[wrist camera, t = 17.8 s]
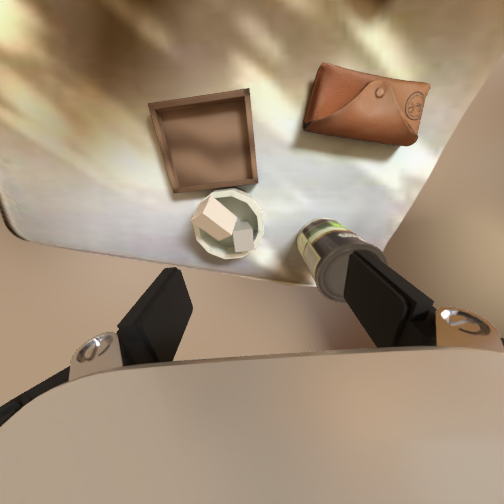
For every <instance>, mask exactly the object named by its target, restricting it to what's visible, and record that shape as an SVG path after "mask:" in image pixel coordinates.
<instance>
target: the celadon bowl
mask: <svg viewBox="0 0 504 504" xmlns="http://www.w3.org/2000/svg"><path fill="white" fill-rule="evenodd" d="M210 195H211V196H213V197H214V198H215V199H216V200H217V201H218V202H220V203H221V204H222V205H223V206H224V207H225V208H227V209H228V210H229V211H230V212H231V213H232V214H234V215H235V216H236V217H237V220H236V222H238V221H245V220H248V222H249V224H250V225H251V227H252V229H253V239H254V249H256V248H257V246H258V244H259V242H260V240H261V238H262V236H263V234H264V225H263V214H262V210H261V208H260V207H259V205H258V204H257V202H256V201H255V200H254V198H253V197H252V196H251V195H249V194H247V193H246V192H244V191H242V190H239V189H236V188H224V189H219V190H215V191H213V192H212V193H211V194H209V195H208V196H207V197H206V198H208V197H209V196H210ZM206 198H205V199H206ZM205 199H203V200H202V201H204V200H205ZM202 201H201V202H202ZM201 202H200V203H201ZM200 203H199V204H200ZM199 204H197V207H198V205H199ZM197 207H196V209H197ZM195 211H196V210H195ZM192 225H193V228H194V232H195V236H196V240H197V241H198V242H199V243H200V244H201V245H202V246H203V247H204V248H205V249H206V251H207V252H208V253H210V254H213V255H215V256H218V257H221V258H223V259H234V258H242V257H244V256H246V255H247V254H249V253H250V252H252V251H253V250H250V251H243V252H237V253H235V248H234V244H233V238H232V235H231V236H229V237H226V238H224V239H222V240H220V241H218V240H217V239H215V238H214V237H212V236H211V235H209V234H208V233H207V232H205V231H204V230H202V229H201V228H199V227H198V226H197V225H195V224H194V223H192Z"/></svg>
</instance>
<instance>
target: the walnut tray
mask: <svg viewBox="0 0 504 504" xmlns="http://www.w3.org/2000/svg"><path fill="white" fill-rule="evenodd" d="M148 106H149V110H150V113H151V117H152V120H153V124H154V127H155V131H156V134H157V137H158V141H159V144H160V148H161V151H162V155H163V158H164V162H165V165H166V169H167V172H168V175H169V179H170V182H171V186H172V189H173V193H181V192H189V191H197V190H205V189H214V188H222V187H230V186H238V185H246V184H254V183H258V176H257V165H256V154H255V144H254V133H253V123H252V112H251V101H250V91H249V88H247V89H240V90H234V91H227V92H221V93H214V94H208V95H201V96H194V97H188V98H181V99H175V100H168V101H162V102H155V103H148Z"/></svg>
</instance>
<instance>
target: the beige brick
mask: <svg viewBox="0 0 504 504" xmlns="http://www.w3.org/2000/svg"><path fill="white" fill-rule="evenodd" d="M236 220H237V217H236V216H235V215H234V214H232V213H231V212H230V211H229V210H228V209H227V208H225V207H224V206H223V205H222V204H221V203H220V202H218V201H217V200H216V199H215V198H214V197H213V196H211V195H210V196H209V197H208V198H206V199H205V200H204V201H202V202H201V203H200V204H199V205H198V207H197V209H196V211H195V213H194V215H193V217H192V219H191V222H192V223H194V224H195V225H197V226H198V227H199V228H201V229H202V230H204V231H205V232H207V233H208V234H209V235H211V236H212V237H214V238H215V239H217V240H218V241H220V240H222V239H224V238H226V237H229V236H231V235H232V233H233V229H234V226H235V223H236Z"/></svg>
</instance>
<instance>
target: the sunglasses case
mask: <svg viewBox="0 0 504 504" xmlns="http://www.w3.org/2000/svg"><path fill="white" fill-rule="evenodd" d="M429 89H430V84H428V83H423V82H414V81H405V80H399V79H392V78H387V77H381V76H377V75H371V74H367V73H362V72H358V71H354V70H350V69H346V68H342V67H340V66H336V65H332V64H327V63H322V64H321V66H320V67H319V69H318V71H317V74H316V78H315V81H314V85H313V88H312V92H311V96H310V99H309V103H308V106H307V110H306V114H305V118H304V123H303V129H304V131H308V132H314V133H320V134H326V135H332V136H339V137H345V138H352V139H358V140H365V141H371V142H377V143H383V144H390V145H397V146H410V145H412V144H414V143H415V142H416V141H417V139H418V135H417V133H418V129H419V124H420V120H421V115H422V111H423V106H424V102H425V98H426V96H427V94H428V91H429Z"/></svg>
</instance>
